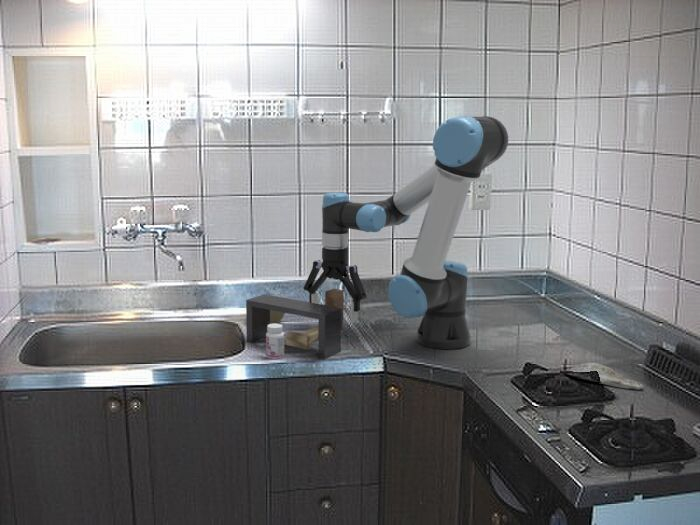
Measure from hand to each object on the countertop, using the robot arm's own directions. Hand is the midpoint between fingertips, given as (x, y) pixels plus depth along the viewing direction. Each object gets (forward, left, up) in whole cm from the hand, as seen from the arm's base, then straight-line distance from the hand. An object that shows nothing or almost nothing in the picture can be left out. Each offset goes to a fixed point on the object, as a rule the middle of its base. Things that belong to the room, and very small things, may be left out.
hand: (334, 318), depth 222 cm
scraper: (0, +8, -4) cm, 9 cm away
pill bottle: (0, +28, -4) cm, 29 cm away
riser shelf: (+1, +19, -4) cm, 19 cm away
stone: (-77, -4, -4) cm, 77 cm away
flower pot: (+20, +4, -4) cm, 21 cm away
